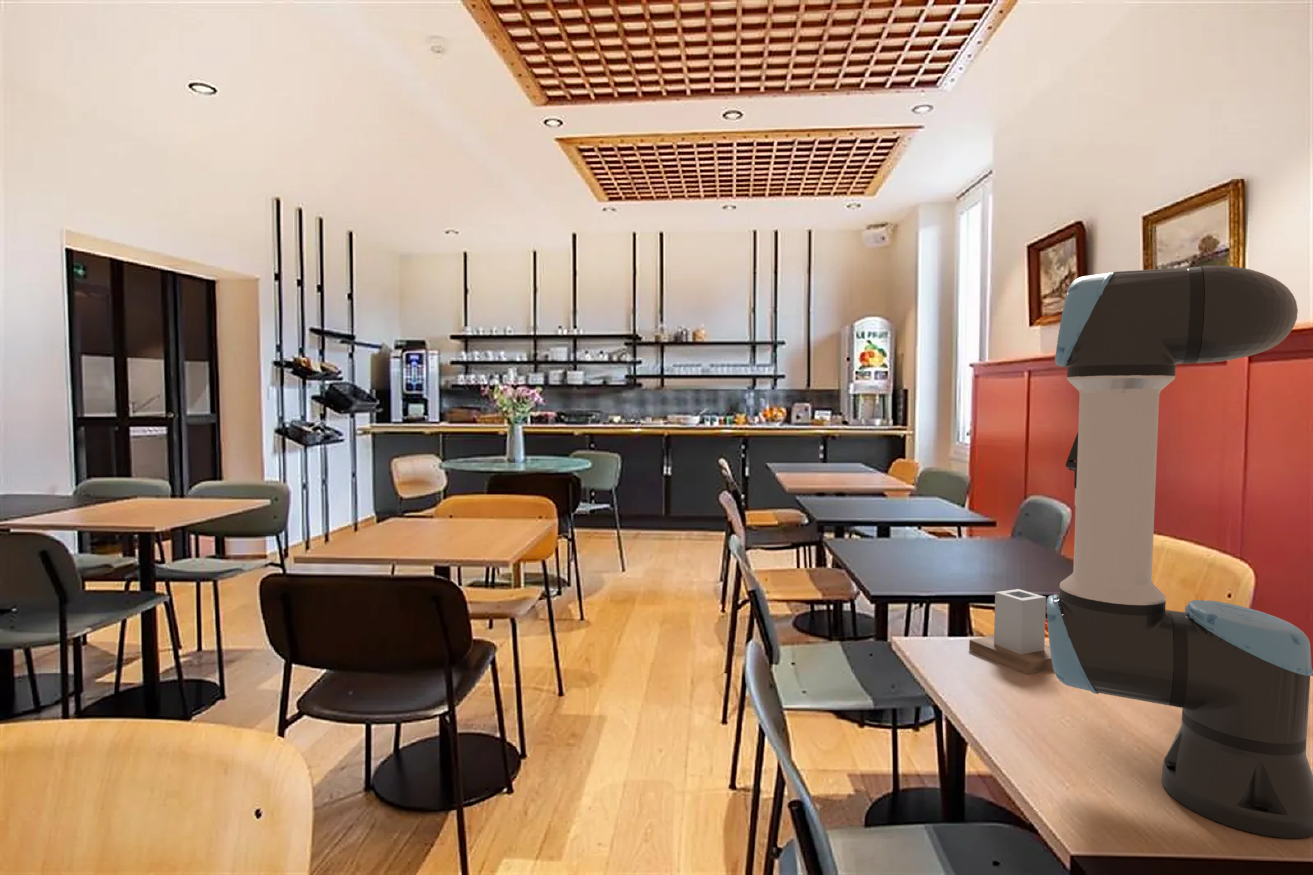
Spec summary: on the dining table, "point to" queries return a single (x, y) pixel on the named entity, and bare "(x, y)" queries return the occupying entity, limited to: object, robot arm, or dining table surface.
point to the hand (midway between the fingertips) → (1107, 504)
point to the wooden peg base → (1013, 656)
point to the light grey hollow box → (1019, 621)
